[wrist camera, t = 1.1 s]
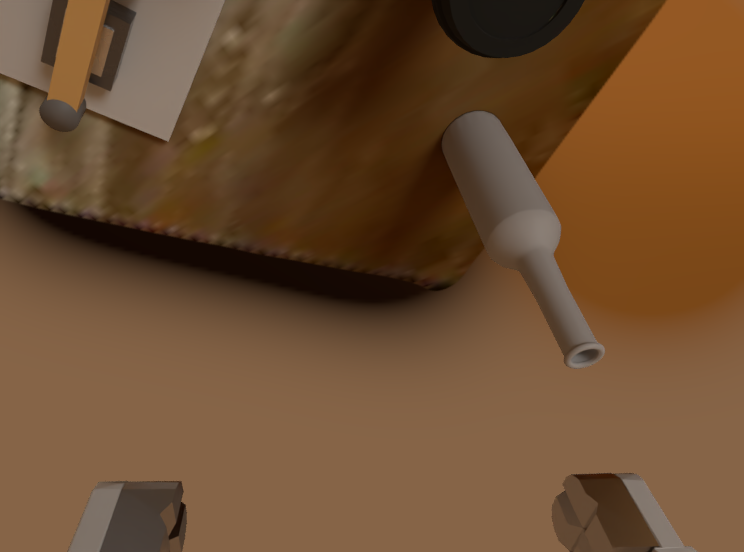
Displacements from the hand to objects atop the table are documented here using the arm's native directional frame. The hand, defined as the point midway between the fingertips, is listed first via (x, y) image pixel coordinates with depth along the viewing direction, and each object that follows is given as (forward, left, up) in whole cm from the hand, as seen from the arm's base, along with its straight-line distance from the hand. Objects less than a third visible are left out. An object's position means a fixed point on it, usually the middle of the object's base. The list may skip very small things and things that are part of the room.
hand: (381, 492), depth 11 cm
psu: (+13, -12, -40) cm, 44 cm away
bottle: (+6, +23, -42) cm, 48 cm away
